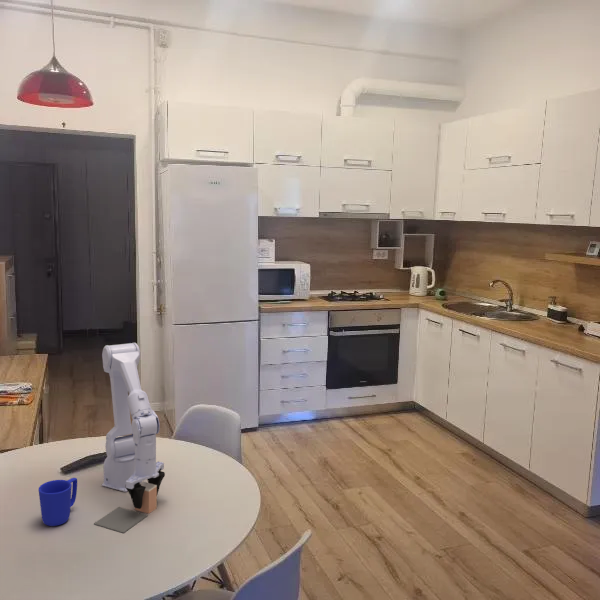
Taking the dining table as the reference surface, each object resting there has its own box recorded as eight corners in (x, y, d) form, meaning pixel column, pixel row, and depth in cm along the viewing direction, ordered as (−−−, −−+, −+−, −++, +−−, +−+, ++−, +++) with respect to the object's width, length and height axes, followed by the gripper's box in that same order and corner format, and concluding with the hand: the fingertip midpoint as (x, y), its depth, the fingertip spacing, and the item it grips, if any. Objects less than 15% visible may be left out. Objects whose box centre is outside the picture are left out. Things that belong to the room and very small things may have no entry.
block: (134, 509, 166) (134, 486, 165) (142, 504, 169) (142, 481, 168) (149, 513, 164) (148, 490, 163) (156, 508, 167) (156, 485, 166)
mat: (93, 524, 157) (93, 523, 157) (118, 507, 166) (118, 506, 166) (123, 533, 153) (123, 532, 153) (147, 515, 162) (147, 514, 162)
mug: (88, 510, 164) (87, 476, 163) (57, 531, 153) (56, 496, 151) (64, 504, 167) (63, 471, 165) (32, 525, 156) (31, 490, 154)
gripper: (140, 469, 156) (140, 517, 158) (172, 450, 169) (172, 494, 171) (119, 464, 159) (119, 511, 161) (152, 445, 172) (152, 489, 174)
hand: (145, 502), depth 166 cm, fingers open, 6 cm apart
